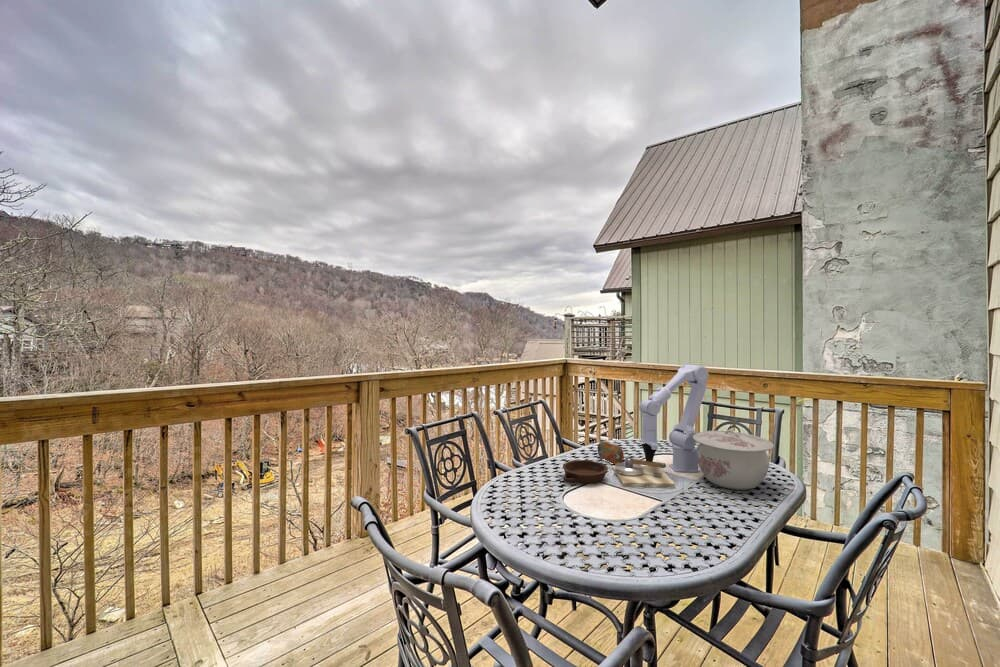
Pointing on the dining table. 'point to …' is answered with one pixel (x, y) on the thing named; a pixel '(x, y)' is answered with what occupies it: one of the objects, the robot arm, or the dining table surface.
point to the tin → (610, 452)
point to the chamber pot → (733, 458)
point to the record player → (646, 478)
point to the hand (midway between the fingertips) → (649, 462)
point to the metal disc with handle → (635, 466)
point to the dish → (584, 472)
